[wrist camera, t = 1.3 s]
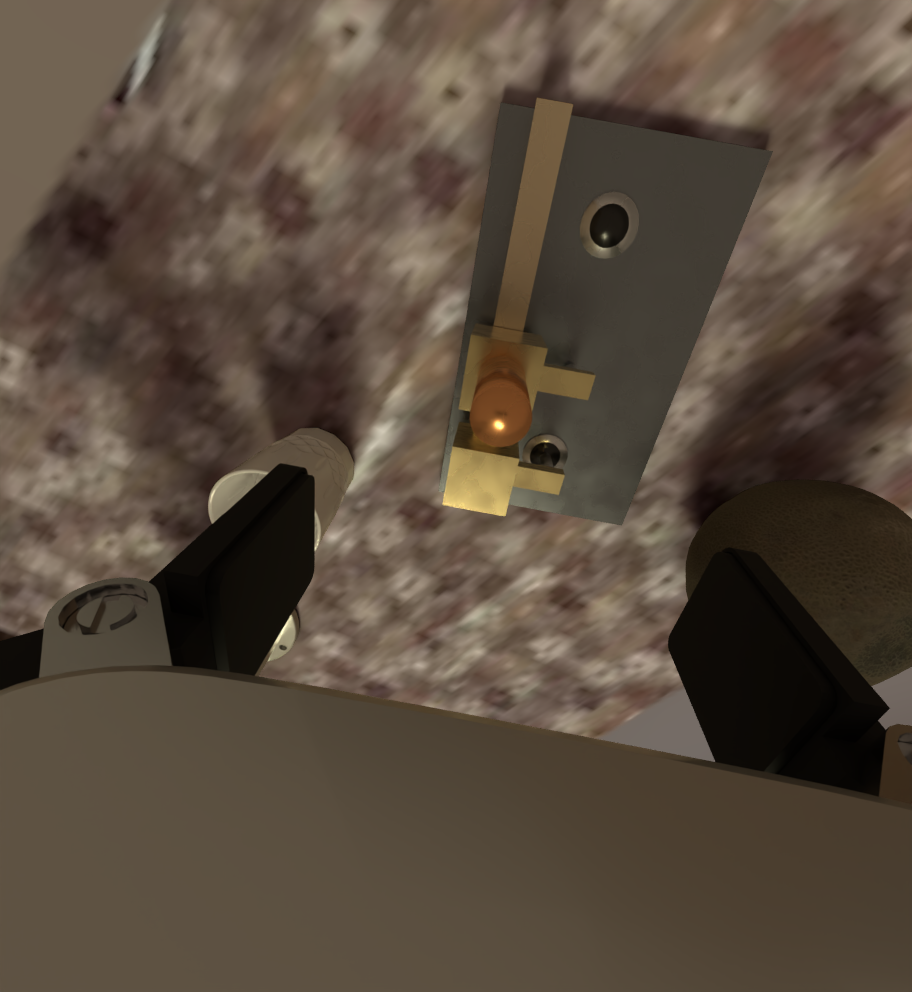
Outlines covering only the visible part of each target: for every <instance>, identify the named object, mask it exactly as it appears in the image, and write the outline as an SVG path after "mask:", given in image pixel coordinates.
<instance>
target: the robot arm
mask: <svg viewBox="0 0 912 992" xmlns="http://www.w3.org/2000/svg"><path fill="white" fill-rule="evenodd" d="M314 553H315V479H314V476H313V475H308V472H307V469H306V468H304V467H299V466H294V465H288V464H283V463H280V464H278V465H277V466H276V467H275V468H274V469H272V470H271V471H270V472H269V473H268V474H267V475H266V476H265V477H264V478H263V479H262V480H260V481H259V482H258V483H257V484H256V485H255V486H254V487H253V488H252V489H251V490H250V491H248V492H247V493H246V494H245V495H244V496H243V497H242V498H241V499H240V500H239V501H238V502H236V503H235V504H234V505H233V506H232V507H231V508H230V509H229V510H228V511H227V512H226V513H224V514H223V515H221V516H220V517H219V518H218V519H217V520H216V521H215V522H214V523H213V524H212V525H211V526H209V527H208V528H207V529H206V530H205V531H204V532H203V533H202V534H201V535H200V536H199V537H197V538H196V539H195V540H194V541H193V542H192V543H191V544H190V545H189V546H188V547H186V548H185V549H184V550H183V551H182V552H181V553H180V554H179V555H178V556H177V557H176V558H174V559H173V560H172V561H171V562H170V563H169V564H168V565H167V566H166V567H165V568H164V569H162V570H161V571H160V572H159V573H158V574H157V575H156V576H155V577H154V578H153V579H151V580H150V581H149V582H148V581H145V580H141V579H137V578H113V579H106V580H102V581H98V582H95V583H91V584H88V585H85V586H83V587H81V588H79V589H77V590H75V591H72V592H71V593H69V594H68V595H66V596H65V597H63V598H62V599H60V600H59V601H58V602H57V603H56V604H55V605H54V606H53V607H52V608H51V609H50V611H49V612H48V614H47V617H46V619H45V622H44V629H41V630H37V631H34V632H30V633H27V634H23V635H20V636H17V637H13V638H10V639H6V640H3V641H0V992H912V726H910V725H901V724H896V725H893V726H890V727H888V729H886V730H885V729H884V728H883V726H882V725H881V724H880V723H879V722H878V720H879V719H880V718H881V717H882V716H883V714H884V713H886V712H887V711H888V710H889V707H888V706H887V704H886V703H885V702H884V701H883V700H882V698H881V697H880V696H879V695H878V694H877V693H876V692H875V691H874V689H873V688H872V687H871V686H870V684H869V683H868V682H867V681H866V680H865V679H864V677H863V676H862V675H861V674H860V673H859V671H858V670H857V669H856V668H855V667H854V666H853V664H852V663H851V662H850V661H849V660H848V659H847V657H846V656H845V655H844V654H843V653H842V652H841V650H840V649H839V648H838V647H837V646H836V644H835V643H834V642H833V641H832V640H831V639H830V637H829V636H828V635H827V634H826V633H825V632H824V630H823V629H822V628H821V627H820V626H819V625H818V623H817V622H816V621H815V620H814V619H813V617H812V616H811V615H810V614H809V613H808V612H807V610H806V609H805V608H804V607H803V606H802V605H801V603H800V602H799V601H798V600H797V599H796V598H795V596H794V595H793V594H792V593H791V592H790V591H789V589H788V588H787V587H786V586H785V585H784V583H783V582H782V581H781V580H780V579H779V578H778V576H777V575H776V574H775V573H774V572H773V571H772V569H771V568H770V567H769V566H768V565H767V564H766V562H765V561H764V560H763V559H762V558H761V556H760V555H759V554H757V553H756V552H752V551H747V550H741V549H736V548H731V547H728V548H725V549H724V550H722V552H717V553H715V554H714V555H713V557H712V558H711V560H710V562H709V564H708V566H707V568H706V569H705V571H704V573H703V575H702V577H701V579H700V580H699V582H698V584H697V586H696V588H695V589H694V591H693V593H692V595H691V597H690V599H689V600H688V602H687V604H686V606H685V608H684V610H683V611H682V613H681V615H680V617H679V619H678V621H677V622H676V624H675V626H674V628H673V630H672V632H671V633H670V636H669V640H668V648H669V651H670V654H671V656H672V659H673V661H674V663H675V666H676V668H677V671H678V673H679V675H680V678H681V680H682V683H683V685H684V687H685V690H686V692H687V695H688V697H689V699H690V702H691V704H692V706H693V709H694V711H695V713H696V716H697V719H698V721H699V723H700V726H701V728H702V731H703V733H704V735H705V738H706V740H707V742H708V745H709V747H710V750H711V752H712V755H713V757H714V759H715V762H711V761H706V760H702V759H696V758H691V757H686V756H681V755H676V754H671V753H666V752H661V751H656V750H651V749H646V748H641V747H636V746H630V745H625V744H620V743H615V742H609V741H605V740H599V739H594V738H589V737H584V736H579V735H574V734H568V733H563V732H558V731H553V730H548V729H542V728H537V727H532V726H527V725H521V724H516V723H511V722H506V721H500V720H495V719H490V718H485V717H479V716H474V715H469V714H464V713H458V712H453V711H447V710H442V709H437V708H431V707H426V706H421V705H415V704H410V703H404V702H399V701H394V700H388V699H383V698H378V697H372V696H367V695H361V694H356V693H351V692H345V691H340V690H335V689H329V688H323V687H317V686H311V685H305V684H300V683H294V682H288V681H282V680H276V679H270V678H264V677H258V676H259V675H260V673H261V671H262V670H263V668H264V666H265V664H266V663H267V661H271V660H275V659H277V658H280V657H282V656H283V655H285V654H286V653H287V652H289V650H290V649H291V648H292V647H293V645H294V643H295V641H296V639H297V637H298V633H299V619H298V616H297V613H296V611H295V607H296V606H297V604H298V602H299V601H300V599H301V597H302V596H303V594H304V592H305V591H306V589H307V587H308V586H309V584H310V582H311V580H312V577H313V573H314Z"/></svg>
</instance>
